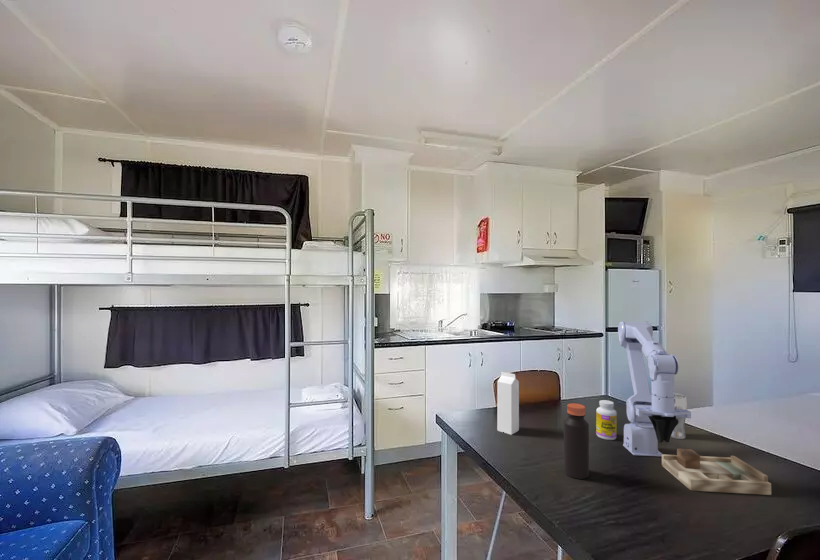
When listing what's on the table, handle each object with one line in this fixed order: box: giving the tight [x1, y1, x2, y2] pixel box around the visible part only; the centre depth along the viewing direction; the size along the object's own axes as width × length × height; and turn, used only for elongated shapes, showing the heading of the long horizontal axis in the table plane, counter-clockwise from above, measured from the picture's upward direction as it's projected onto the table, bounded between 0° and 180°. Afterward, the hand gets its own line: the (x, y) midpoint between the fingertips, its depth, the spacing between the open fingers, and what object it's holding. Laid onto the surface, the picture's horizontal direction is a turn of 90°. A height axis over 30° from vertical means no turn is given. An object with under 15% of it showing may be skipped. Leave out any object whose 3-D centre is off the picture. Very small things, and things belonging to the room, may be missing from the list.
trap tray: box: [661, 453, 772, 496], centre depth 108 cm, size 20×14×4 cm
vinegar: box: [563, 402, 590, 480], centre depth 111 cm, size 7×7×20 cm
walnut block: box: [676, 448, 701, 469], centre depth 111 cm, size 4×4×4 cm
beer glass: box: [670, 392, 688, 440], centre depth 139 cm, size 7×7×15 cm
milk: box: [496, 371, 520, 436], centre depth 143 cm, size 6×6×22 cm
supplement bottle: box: [595, 399, 618, 441], centre depth 138 cm, size 7×7×13 cm
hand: (663, 440), depth 112 cm, fingers closed
